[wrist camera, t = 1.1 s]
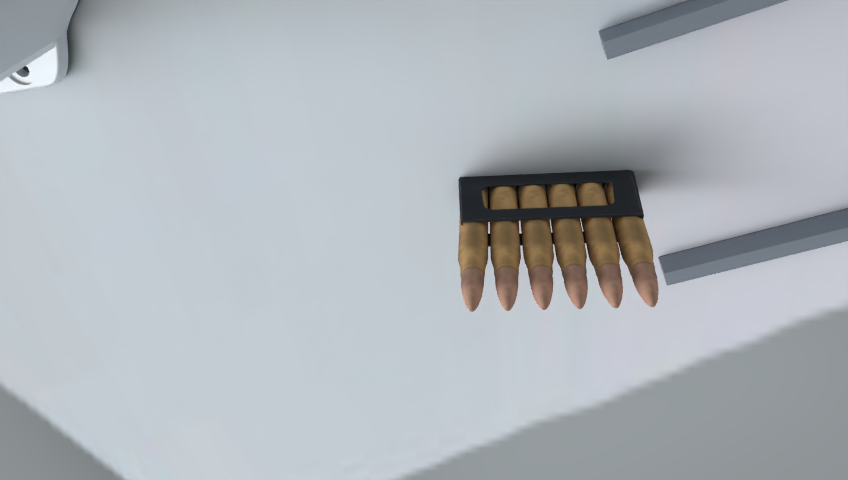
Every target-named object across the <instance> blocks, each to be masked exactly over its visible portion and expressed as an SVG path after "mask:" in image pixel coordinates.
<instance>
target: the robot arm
mask: <svg viewBox="0 0 848 480" xmlns="http://www.w3.org/2000/svg"><path fill="white" fill-rule="evenodd" d="M77 3H78V0H0V94H4V93H10V92H17V91H23V90H30V89H36V88H42V87H48V86H51V85H53V84H55V83H57V82H58V81H60V80H62V79H63V78H64V77H65V75H66V73H67V70H68V43H67V29H68V25H69V22H70V19H71V17H72V15H73V12H74V10H75V8H76V5H77ZM24 66H27V67H28V69H29V72H26V71H25V70H24V69H23V67H24Z"/></svg>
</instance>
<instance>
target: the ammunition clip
mask: <svg viewBox="0 0 848 480" xmlns="http://www.w3.org/2000/svg"><path fill="white" fill-rule="evenodd" d="M459 200H460V226H459V251H458V261H459V265H460V268H461V288H462V294H463V298H464V301H465V304H466V306H467V308H468V309H469V310H470V311H471V312H473V311H474V310H475V309H476V308H477V306H478V305H479V302H480V300H481V297H482V292H483V286H484V276H485V268H486V265H487V260H488V246H491V261H492V264H493V267H494V275H495V283H496V290H497V294H498V297H499V300H500V302H501V305H502V306H503V307H504V309H505V310H507V311H509V310H510V309H511V308H512V307H513V305H514V303H515V300H516V296H517V290H518V272H519V264H520V259H521V253H520V245H523V254H524V260H525V264H526V266H527V268H528V274H529V278H530V285H531V289H532V293H533V296H534V298H535V300H536V302H537V304H538V305H539V307H540V308H541V309H543V310H546V309H547V307H548V306H549V304H550V301H551V297H552V292H553V277H552V275H553V269H552V264H553V260H554V252H553V244H554V245H555V252H556V257H557V262H558V264H559V266H560V268H561V271H562V275H563V278H564V283H565V287H566V290H567V293H568V296H569V298H570V299H571V301H572V303H573V304H574V305H575V306H576V307H577V308H578V309H582V308H583V306H584V304H585V301H586V297H587V290H588V286H587V276H586V273H587V272H586V258H587V255H586V249H585V243H586V245H587V249H588V254H589V258H590V261H591V263H592V265H593V266H594V269H595V272H596V276H597V277H598V281H599V285H600V288H601V290H602V293H603V295H604V296H605V298H606V299H607V301H608V302H609V304H610V305H611V306H613V307H614V308H618V307H619V305H620V303H621V300H622V293H623V286H622V277H621V273H620V272H621V271H620V265H619V259H620V254H619V248H618V244H619V247H620V251H621V255H622V258H623V260H624V262H625V263H626V265H627V266H628V269H629V271H630V274H631V276H632V279H633V282H634V285H635V287H636V289H637V291H638V293H639V295H640V296H641V298H642V299H643V300H644V302H645V303H646V304H647V305H649V306H650V307H655V305H656V303H657V300H658V282H657V276H656V273H655V267H654V263H653V250H652V246H651V243H650V240H649V236H648V233H647V230H646V227H645V224H644V221H643V217H644V214H643V210H642V205H641V201H640V197H639V193H638V188H637V184H636V180H635V176H634V172H633V171H631V170H620V171H596V172H573V173H550V174H527V175H504V176H480V177H460V178H459ZM580 218H581V221H582V226H583V230H584V232H582V227H581V222H580ZM611 218H612V220H611ZM549 219H551V225H552V231H553V233H551V228H550V220H549ZM520 220H521V231H522V234H519V221H520ZM488 222H490V234H488ZM617 242H618V244H617Z"/></svg>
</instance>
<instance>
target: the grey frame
mask: <svg viewBox="0 0 848 480" xmlns="http://www.w3.org/2000/svg"><path fill="white" fill-rule="evenodd" d="M784 1H787V0H689V1H686V2H683V3H680V4H678V5H675V6H672V7H669V8H666V9H663V10H660V11H657V12H654V13H651V14H648V15H645V16H642V17H639V18H636V19H634V20H631V21H628V22H625V23H622V24H619V25H616V26H613V27H610V28H607V29H604V30H601V31H599V34H600V38H601V42H602V45H603V49H604V52H605V54H606V57H607V59H611V58H614V57H617V56H620V55H623V54H626V53H629V52H632V51H635V50H638V49H641V48H644V47H647V46H650V45H653V44H657V43H660V42H663V41H666V40H669V39H672V38H675V37H678V36H681V35H684V34H687V33H690V32H693V31H696V30H699V29H702V28H705V27H708V26H711V25H714V24H717V23H720V22H723V21H726V20H729V19H732V18H735V17H738V16H741V15H744V14H747V13H750V12H753V11H756V10H760V9H763V8H766V7H769V6H772V5H775V4H778V3H781V2H784ZM845 241H848V209H844V210H840V211H836V212H832V213H828V214H825V215H821V216H817V217H813V218H809V219H805V220H801V221H797V222H793V223H790V224H786V225H782V226H778V227H774V228H770V229H766V230H762V231H759V232H755V233H751V234H747V235H743V236H739V237H735V238H731V239H728V240H724V241H720V242H716V243H712V244H708V245H704V246H700V247H696V248H693V249H689V250H685V251H681V252H677V253H673V254H669V255H665V256H662V257H659V261H660V265H661V269H662V272H663V275H664V278H665V281H666V284H667V285H671V284H675V283H679V282H683V281H687V280H691V279H695V278H699V277H703V276H707V275H712V274H716V273H720V272H724V271H728V270H732V269H736V268H740V267H744V266H748V265H752V264H756V263H760V262H764V261H768V260H772V259H776V258H780V257H784V256H788V255H792V254H796V253H800V252H805V251H809V250H813V249H817V248H821V247H825V246H829V245H833V244H837V243H841V242H845Z"/></svg>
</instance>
